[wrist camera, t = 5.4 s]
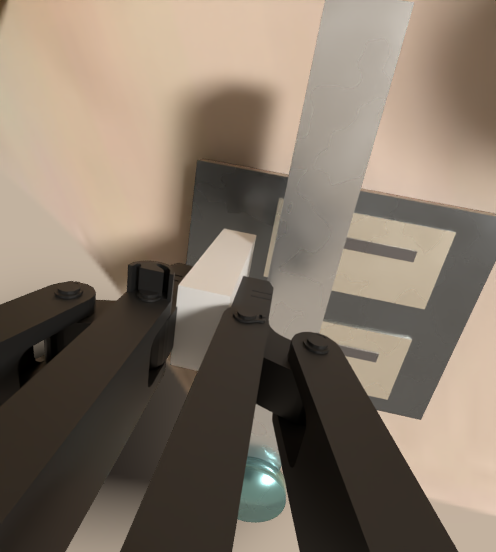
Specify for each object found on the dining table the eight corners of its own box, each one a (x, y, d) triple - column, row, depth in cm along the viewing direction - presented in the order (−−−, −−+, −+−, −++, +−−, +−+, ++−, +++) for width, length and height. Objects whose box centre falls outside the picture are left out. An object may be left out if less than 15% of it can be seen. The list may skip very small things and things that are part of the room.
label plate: (180, 354, 24) (174, 368, 23) (202, 158, 19) (195, 160, 18) (414, 406, 23) (422, 423, 22) (501, 214, 18) (518, 221, 17)
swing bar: (278, 480, 21) (274, 537, 18) (219, 466, 21) (206, 521, 18) (407, 29, 12) (444, -5, 9) (306, 13, 13) (309, -26, 10)
